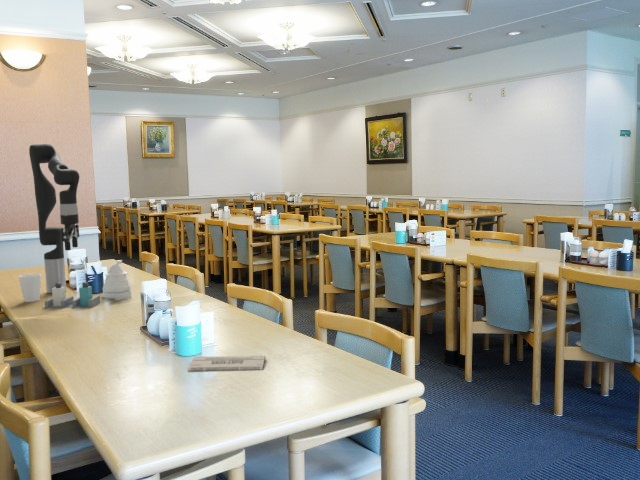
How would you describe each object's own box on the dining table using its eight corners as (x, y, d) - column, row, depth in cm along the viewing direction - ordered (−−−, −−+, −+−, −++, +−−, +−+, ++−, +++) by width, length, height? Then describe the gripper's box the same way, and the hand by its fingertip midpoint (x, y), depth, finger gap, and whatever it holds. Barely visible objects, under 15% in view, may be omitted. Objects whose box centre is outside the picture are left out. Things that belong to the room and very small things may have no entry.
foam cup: (36, 304, 265) (34, 276, 263) (16, 304, 265) (14, 277, 263) (46, 300, 274) (44, 273, 273) (27, 300, 274) (25, 273, 273)
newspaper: (265, 358, 181) (265, 351, 180) (262, 375, 169) (262, 367, 168) (193, 359, 180) (193, 352, 180) (185, 377, 168) (184, 369, 168)
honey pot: (135, 294, 284) (133, 258, 282) (124, 300, 271) (122, 262, 269) (110, 294, 285) (108, 258, 283) (98, 300, 272) (95, 262, 270)
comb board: (54, 304, 264) (53, 296, 263) (102, 303, 264) (102, 295, 264) (42, 310, 252) (41, 301, 251) (92, 309, 252) (92, 300, 252)
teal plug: (83, 303, 260) (82, 281, 259) (92, 303, 260) (91, 281, 259) (80, 305, 256) (78, 283, 255) (89, 305, 256) (87, 283, 255)
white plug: (57, 304, 260) (55, 282, 259) (66, 304, 260) (64, 282, 259) (53, 306, 256) (51, 284, 255) (62, 306, 256) (60, 283, 255)
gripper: (66, 212, 268) (69, 246, 271) (54, 215, 254) (56, 251, 257) (83, 211, 269) (85, 246, 271) (71, 215, 255) (73, 251, 257)
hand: (71, 248), depth 264 cm, fingers open, 8 cm apart
